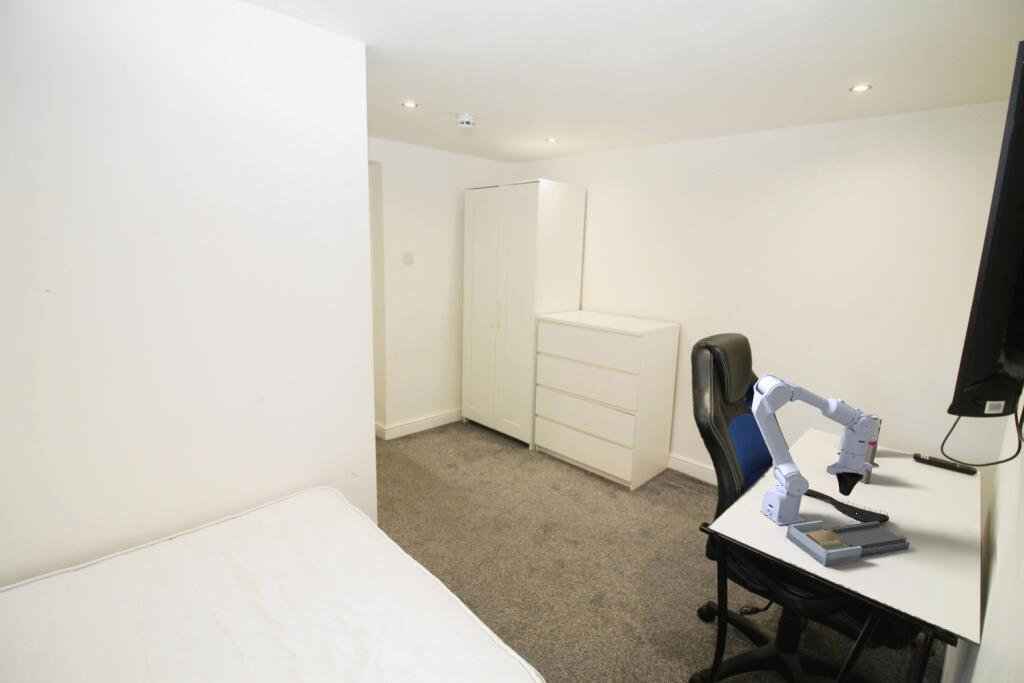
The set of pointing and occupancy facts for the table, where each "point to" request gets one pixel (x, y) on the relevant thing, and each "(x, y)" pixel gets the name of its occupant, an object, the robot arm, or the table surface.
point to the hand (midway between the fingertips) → (844, 494)
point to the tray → (820, 554)
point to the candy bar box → (873, 437)
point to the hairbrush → (852, 509)
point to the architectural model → (869, 459)
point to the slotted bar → (870, 538)
